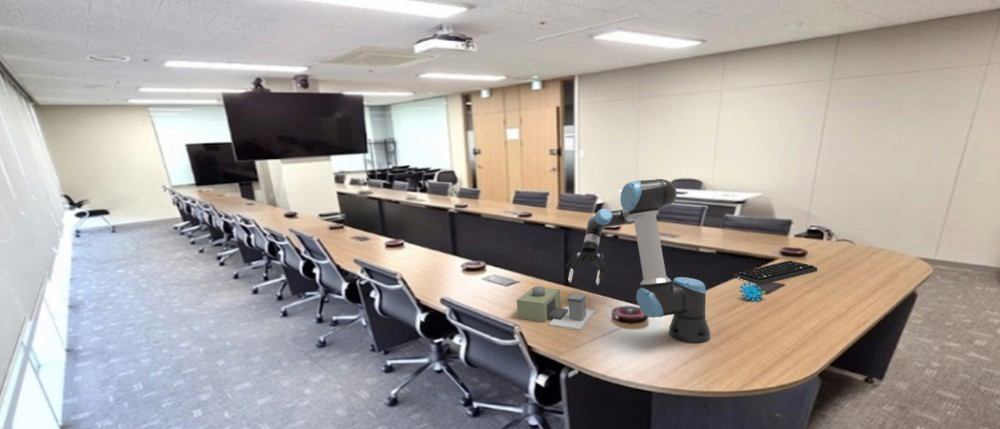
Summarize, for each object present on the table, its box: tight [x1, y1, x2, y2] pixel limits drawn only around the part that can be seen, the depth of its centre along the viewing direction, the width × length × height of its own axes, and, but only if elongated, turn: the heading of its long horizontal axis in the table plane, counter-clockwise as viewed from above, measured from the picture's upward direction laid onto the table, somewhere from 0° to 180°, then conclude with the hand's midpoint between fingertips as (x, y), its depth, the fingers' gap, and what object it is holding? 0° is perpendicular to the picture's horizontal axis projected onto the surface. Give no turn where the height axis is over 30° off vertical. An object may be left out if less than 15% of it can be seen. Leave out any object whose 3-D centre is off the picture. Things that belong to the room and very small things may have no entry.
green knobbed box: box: [516, 286, 596, 331], centre depth 196 cm, size 32×23×12 cm
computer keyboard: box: [733, 260, 818, 286], centre depth 233 cm, size 45×16×4 cm, turn 111°
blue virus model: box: [739, 282, 766, 302], centre depth 201 cm, size 11×6×10 cm
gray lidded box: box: [567, 293, 587, 321], centre depth 190 cm, size 6×6×10 cm
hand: (583, 282), depth 198 cm, fingers open, 13 cm apart
